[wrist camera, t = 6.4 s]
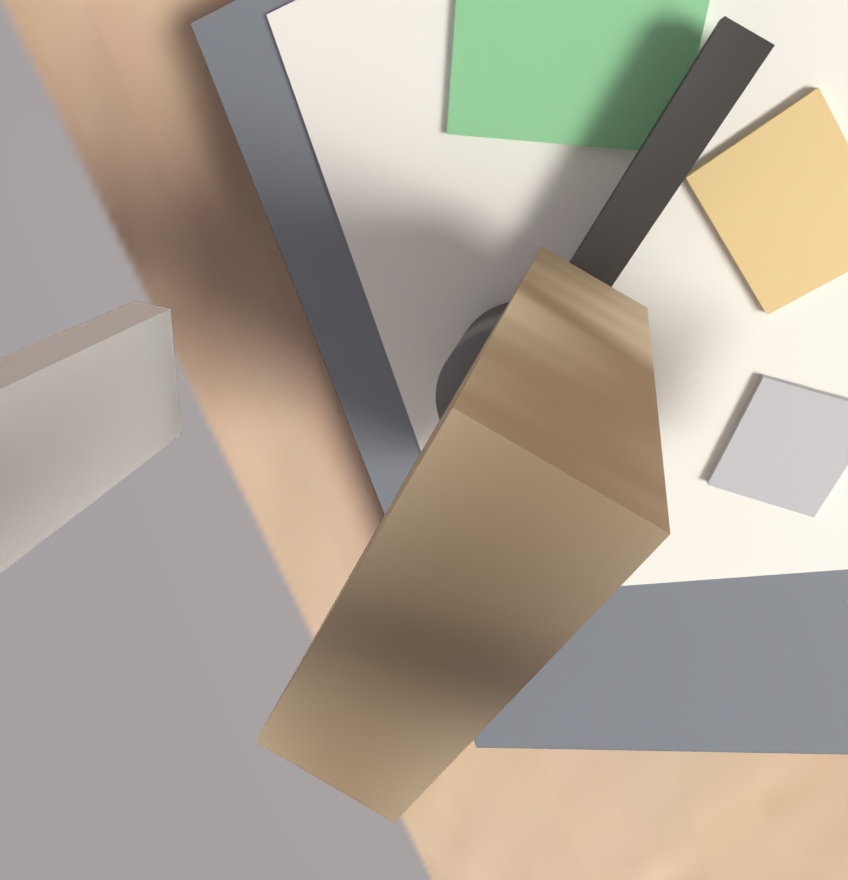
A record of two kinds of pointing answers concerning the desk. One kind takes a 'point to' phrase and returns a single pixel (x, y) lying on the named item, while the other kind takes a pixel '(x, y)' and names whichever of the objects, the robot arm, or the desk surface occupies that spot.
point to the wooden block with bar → (509, 494)
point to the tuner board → (643, 279)
